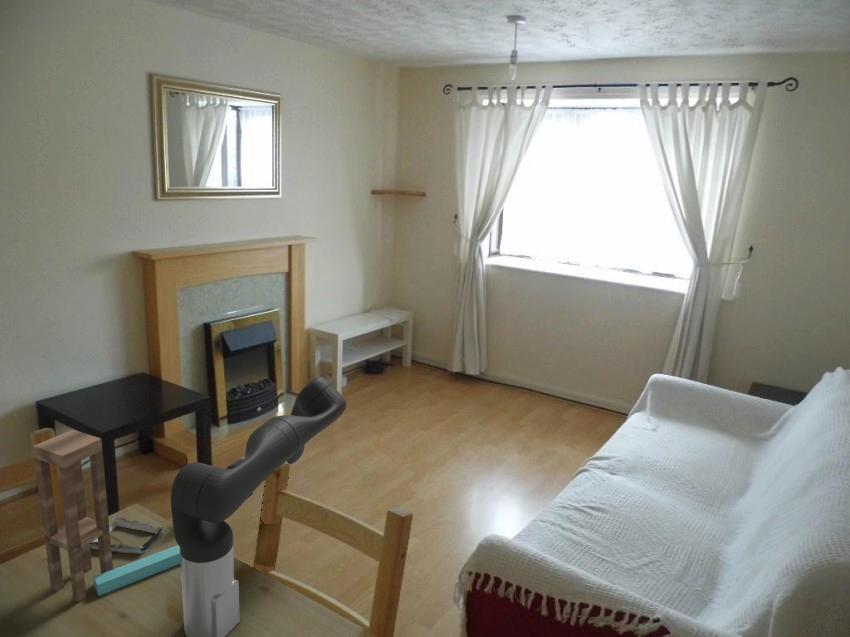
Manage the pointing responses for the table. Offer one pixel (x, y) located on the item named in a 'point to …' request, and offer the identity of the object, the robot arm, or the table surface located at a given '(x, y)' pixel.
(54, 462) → the walnut stand
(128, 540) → the table surface
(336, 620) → the table surface
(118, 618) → the table surface
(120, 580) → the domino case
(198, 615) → the robot arm
